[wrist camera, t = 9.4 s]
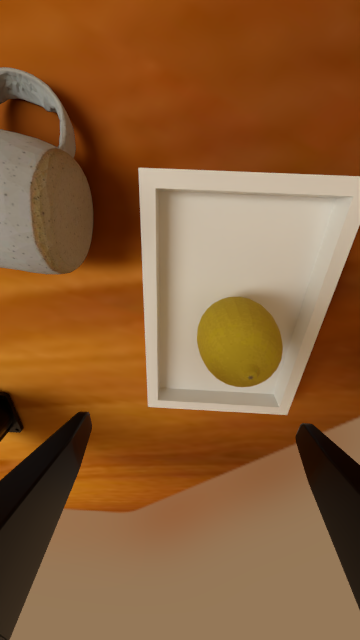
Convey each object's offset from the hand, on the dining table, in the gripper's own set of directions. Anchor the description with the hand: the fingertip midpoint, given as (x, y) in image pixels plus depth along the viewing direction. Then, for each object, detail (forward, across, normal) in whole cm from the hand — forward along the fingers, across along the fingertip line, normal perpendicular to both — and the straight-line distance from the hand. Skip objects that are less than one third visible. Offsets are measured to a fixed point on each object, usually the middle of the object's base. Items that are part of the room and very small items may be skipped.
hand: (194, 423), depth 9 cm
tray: (+12, -3, 0) cm, 12 cm away
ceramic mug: (+12, +12, -9) cm, 19 cm away
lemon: (+11, -3, 0) cm, 11 cm away
